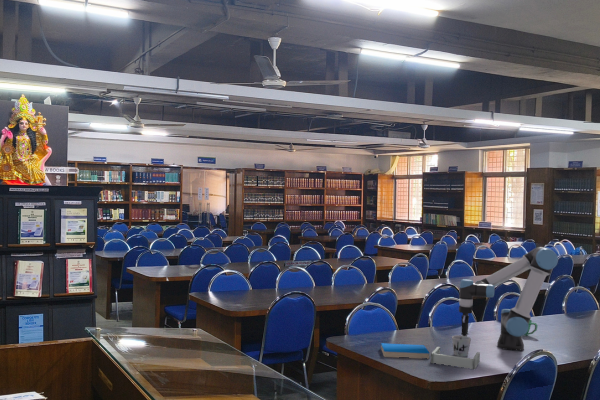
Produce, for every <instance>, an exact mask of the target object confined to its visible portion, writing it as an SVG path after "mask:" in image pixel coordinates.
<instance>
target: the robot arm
mask: <svg viewBox="0 0 600 400" xmlns="http://www.w3.org/2000/svg"><path fill="white" fill-rule="evenodd" d="M558 262H559V257H558V255H557V253H556V252H555V251H554V250H553V249H551V248H548V247H544V246H538V247H535V248H533V249H532V250H530V251H529V252H526V253H525V254H524V255H522V257H521V258H520V259H518V260H515V261H514V262H512V263H510V264H509V265H507V266H504V267H503V268H500V269H499V270H498V271H495V272H494V273H492V274H490V275H488V276H486V277H485V278H483V279H481V280H480V279H479V280H476V281H475V282H474V280H473V279H466V278H465V279H464V278H463V279H461V280H460V281H459V298H458V299H457V300H458V302H459V303H458V304H459V307H458V312H459V313H461V314H462V315H461V333H460V336H467V337H468V335H470V334H469V321H470V315H469V314H472V313H473V305H474V304H473V301H474V300H473V299H474V298H473V297H479V298H494V296H495V288H496V287H498V286H500V285H502V284H504V283H506V282H507V281H509V280H511V279H513V278H515V277H517V276H518V275H521V274H522V273H524V272H527V271H529V270H530V271H529V274H528V277H527V278H526V281H525V283H524V285H523V288H522V289H521V292H520V295H519V297H518V299H517V301H516V303H515V306H514V307H512V308H510V309H509V308H503V309H501V311H500V335H499V337H498V340H497V343H496V344H497V345H496V346H497V347H498V348H500V349H503V350H506V351H507V350H508V351H523V350H524V349H525V345H524V340H523V338H522V337H523V335H525V334H526V333H527V331H528V323H529V321H530V320H531V318H532V317H531V314H530V313H531V311H532V309H533V307H534V305H535V302H536V300H537V298H538V295H539V292H540V291H541V288H542V286H543V284H544V281H545V280H546V277H547V276H549V275H551V273H552V271H553V269H554V268H555V267H557V265H558V264H559V263H558Z"/></svg>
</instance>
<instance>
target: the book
mask: <svg viewBox="0 0 600 400" xmlns="http://www.w3.org/2000/svg"><path fill="white" fill-rule="evenodd" d="M380 351H381V353H382V355H383V357H384V358H399V357H409V358H408V359H422V358H427V360H428V359H430V352H429V351H430V350H428V349H427V347H426V346H425V345H424V344H409V343H407V344H405V343H404V344H403V343H386V342H385V343H382V342H381V343H380Z"/></svg>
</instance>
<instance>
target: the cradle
mask: <svg viewBox="0 0 600 400" xmlns="http://www.w3.org/2000/svg"><path fill="white" fill-rule="evenodd" d="M480 355H481V352H479V351H477V352H475V355H474V357H473V358H470V357H469V358H468V357H460V356H456V355H448V354H442V353H441V346H436V348H435V349H433V350H432V352H431V353H430V364H434V363H436V364H435V365H441V364H444V365H443V366H448V365H451V366H450V367H454V366H458V367H457V368H461V367H464V368H463V369H468V368H470V370H474V369H475V370H476V369H477V367H478V366H477V365H479V364H480V360H481V356H480ZM478 363H479V364H478Z"/></svg>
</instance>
